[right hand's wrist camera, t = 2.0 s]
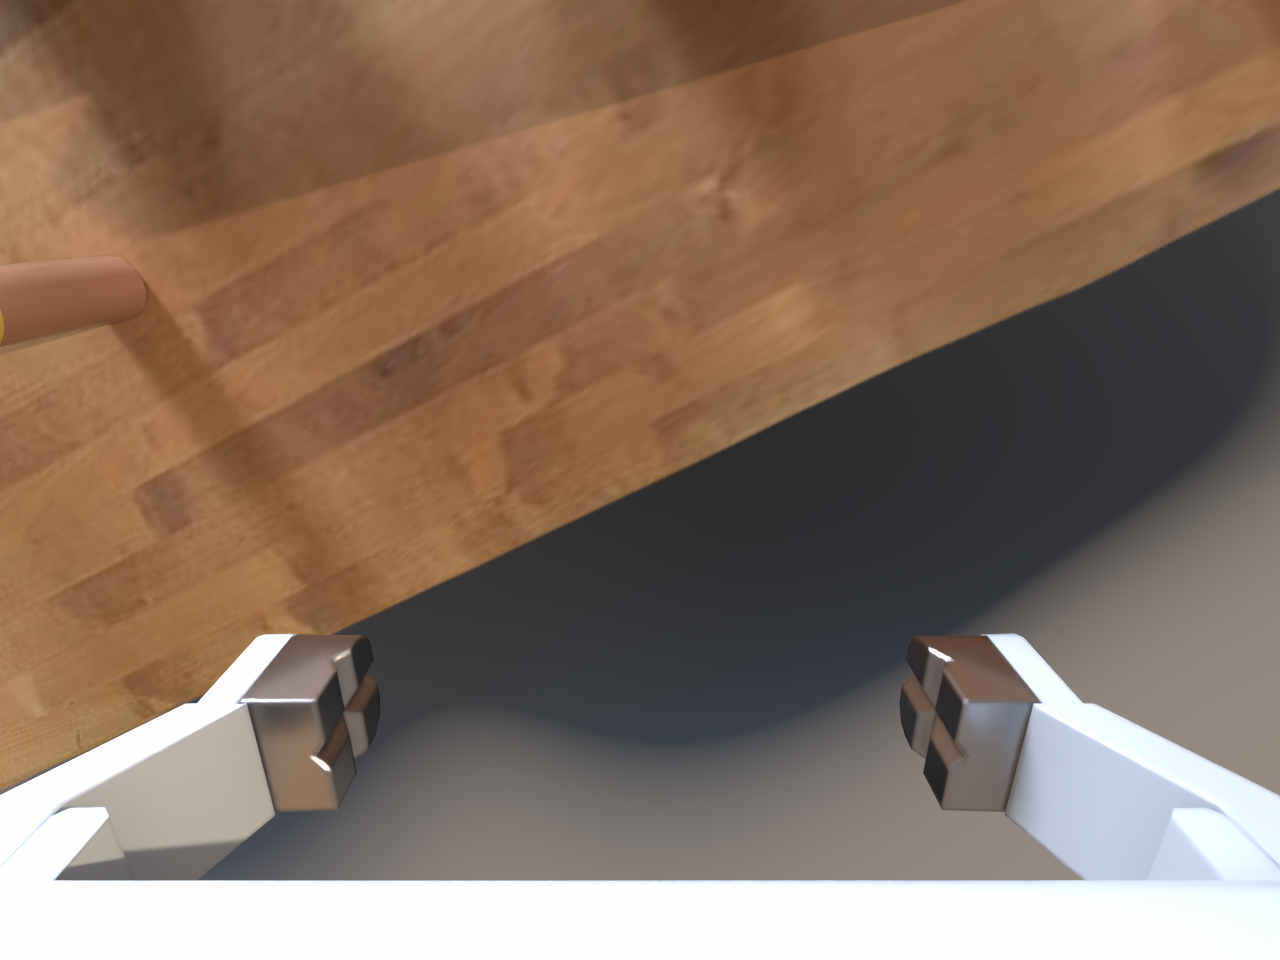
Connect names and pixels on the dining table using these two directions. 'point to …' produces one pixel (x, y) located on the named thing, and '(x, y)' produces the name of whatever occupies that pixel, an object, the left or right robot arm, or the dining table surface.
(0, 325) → the lid
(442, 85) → the dining table surface
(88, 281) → the jar
